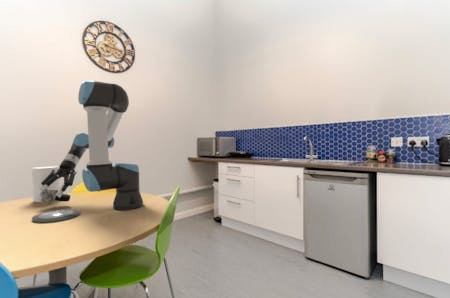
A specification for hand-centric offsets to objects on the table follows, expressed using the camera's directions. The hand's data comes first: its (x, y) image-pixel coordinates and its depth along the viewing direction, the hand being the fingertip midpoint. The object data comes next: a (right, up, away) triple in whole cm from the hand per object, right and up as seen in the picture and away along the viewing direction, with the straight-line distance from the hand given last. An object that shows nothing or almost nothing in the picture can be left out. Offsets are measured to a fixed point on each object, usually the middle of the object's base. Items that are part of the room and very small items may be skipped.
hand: (49, 196), depth 136 cm
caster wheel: (+2, -4, +5) cm, 6 cm away
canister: (-17, -7, +23) cm, 30 cm away
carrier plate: (+13, -7, -14) cm, 20 cm away
